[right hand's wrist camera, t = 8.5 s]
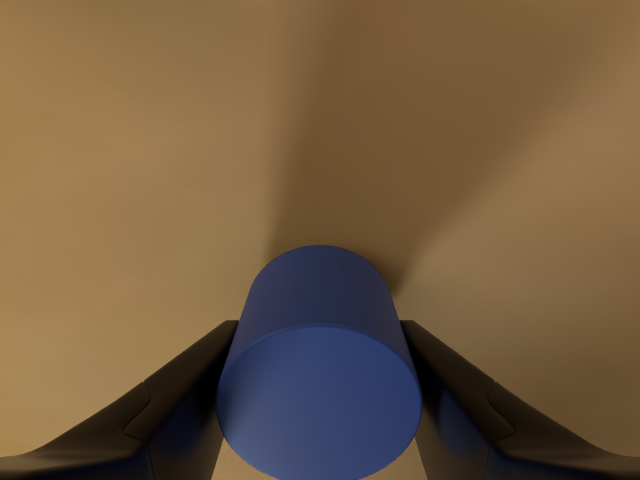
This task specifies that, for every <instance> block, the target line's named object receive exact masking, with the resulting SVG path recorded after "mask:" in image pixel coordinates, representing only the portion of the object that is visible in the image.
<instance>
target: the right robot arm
mask: <svg viewBox="0 0 640 480" xmlns="http://www.w3.org/2000/svg"><path fill="white" fill-rule="evenodd" d="M399 322H400V325H401V328H402V331H403V334H404V337H405V340H406V343H407V346H408V349H409V352H410V355H411V358H412V361H413V364H414V367H415V370H416V373H417V376H418V379H419V382H420V386H421V390H422V397H423V409H422V416H421V420H420V424H419V427H418V429H417V432H416V434H415V439H416V442H417V445H418V449H419V452H420V456H421V459H422V462H423V466H424V469H425V472H426V476H427V479H428V480H640V457H629V456H621V455H617V454H613V453H610V452H608V451H605V450H603V449H600V448H598V447H596V446H594V445H593V444H591V443H589V442H588V441H586V440H584V439H583V438H581V437H579V436H578V435H576V434H575V433H573V432H571V431H570V430H568V429H567V428H565V427H563V426H562V425H560V424H559V423H557V422H555V421H554V420H552V419H551V418H549V417H547V416H546V415H544V414H543V413H541V412H539V411H538V410H536V409H535V408H533V407H532V406H530V405H529V404H527V403H525V402H524V401H522V400H521V399H520V398H518V397H517V396H515V395H514V394H513V393H511V392H510V391H508V390H507V389H505V388H504V387H503V386H501V385H500V384H499V383H497V382H495V381H494V380H493V379H492V378H490V377H489V376H488V375H486V374H485V373H484V372H482V371H481V370H480V369H478V368H477V367H476V366H474V365H473V364H472V363H470V362H469V361H467V360H466V359H465V358H463V357H462V356H461V355H459V354H458V353H457V352H455V351H454V350H453V349H451V348H450V347H449V346H447V345H446V344H444V343H443V342H442V341H440V340H439V339H438V338H436V337H435V336H434V335H432V334H431V333H430V332H428V331H427V330H426V329H424V328H423V327H421V326H420V325H419V324H417V323H416V322H415V321H413V320H400V321H399ZM238 324H239V320H226V321H224V322H223V323H222V324H220V325H219V326H217V327H216V328H215V329H213V330H212V331H211V332H209V333H208V334H207V335H205V336H204V337H202V338H201V339H200V340H198V341H197V342H196V343H194V344H193V345H192V346H190V347H189V348H188V349H186V350H185V351H183V352H182V353H181V354H179V355H178V356H177V357H175V358H174V359H173V360H171V361H170V362H168V363H167V364H166V365H164V366H163V367H162V368H160V369H159V370H158V371H156V372H155V373H154V374H152V375H151V376H149V377H148V378H147V379H145V380H144V382H141V383H140V384H138V385H137V386H136V387H134V388H133V389H132V390H130V391H129V392H127V393H126V394H124V395H123V396H122V397H120V398H119V399H117V400H116V401H114V402H113V403H111V404H110V405H108V406H107V407H105V408H104V409H102V410H100V411H99V412H97V413H96V414H94V415H93V416H91V417H89V418H88V419H86V420H84V421H83V422H81V423H80V424H78V425H76V426H75V427H73V428H72V429H70V430H68V431H67V432H65V433H64V434H62V435H60V436H59V437H57V438H55V439H54V440H52V441H51V442H49V443H47V444H45V445H44V446H42V447H40V448H38V449H35V450H33V451H30V452H28V453H25V454H21V455H17V456H9V457H0V480H211V478H212V475H213V471H214V468H215V465H216V461H217V458H218V455H219V451H220V448H221V445H222V441H223V438H224V435H223V433H222V431H221V429H220V426H219V423H218V420H217V414H216V408H215V397H216V391H217V386H218V383H219V380H220V377H221V374H222V371H223V368H224V365H225V362H226V359H227V356H228V353H229V351H230V348H231V345H232V342H233V339H234V336H235V333H236V330H237V327H238Z"/></svg>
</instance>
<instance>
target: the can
mask: <svg viewBox="0 0 640 480" xmlns="http://www.w3.org/2000/svg"><path fill="white" fill-rule="evenodd" d="M215 408H216V414H217V420H218V423H219V426H220V429H221V431H222V433H223V435H224V437H225V439H226V441H227V442H228V444H229V445H230V446H231V448H232V449H233V450H234V451H235V452H236V453H237V454H238V455H239V456H240V457H241V458H242V459H243V460H244V461H246V462H247V463H248V464H249V465H251V466H252V467H254V468H256V469H257V470H259V471H261V472H263V473H265V474H267V475H269V476H271V477H274V478H277V479H280V480H359V479H362V478H365V477H367V476H369V475H372V474H374V473H376V472H378V471H379V470H381V469H383V468H385V467H386V466H388V465H389V464H390V463H392V462H393V461H394V460H395V459H396V458H398V457H399V456H400V455H401V454H402V453H403V452H404V450H405V449H406V448H407V447H408V446H409V444H410V443H411V441H412V439H413V438H414V436H415V434H416V432H417V429H418V427H419V424H420V420H421V416H422V409H423V397H422V390H421V386H420V382H419V379H418V376H417V373H416V370H415V367H414V364H413V361H412V358H411V355H410V352H409V349H408V346H407V343H406V340H405V337H404V334H403V331H402V328H401V325H400V322H399V319H398V316H397V313H396V309H395V306H394V303H393V300H392V297H391V294H390V291H389V289H388V286H387V284H386V282H385V280H384V279H383V277H382V276H381V274H380V273H379V272H378V271H377V269H376V268H375V267H374V266H373V265H371V264H370V263H369V262H368V261H367V260H365V259H364V258H362V257H361V256H359V255H357V254H355V253H353V252H351V251H348V250H345V249H342V248H338V247H333V246H323V245H317V246H306V247H301V248H297V249H294V250H291V251H288V252H286V253H284V254H282V255H280V256H278V257H277V258H275V259H274V260H272V261H271V262H270V263H268V264H267V265H266V266H265V267H264V268H263V269H262V270H261V271H260V273H259V274H258V275H257V277H256V278H255V280H254V282H253V284H252V286H251V288H250V291H249V294H248V297H247V300H246V303H245V306H244V309H243V312H242V315H241V318H240V321H239V324H238V327H237V330H236V333H235V336H234V339H233V342H232V345H231V348H230V351H229V353H228V356H227V359H226V362H225V365H224V368H223V371H222V374H221V377H220V380H219V383H218V386H217V391H216V397H215Z"/></svg>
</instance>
